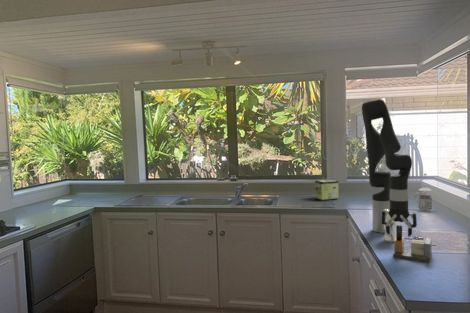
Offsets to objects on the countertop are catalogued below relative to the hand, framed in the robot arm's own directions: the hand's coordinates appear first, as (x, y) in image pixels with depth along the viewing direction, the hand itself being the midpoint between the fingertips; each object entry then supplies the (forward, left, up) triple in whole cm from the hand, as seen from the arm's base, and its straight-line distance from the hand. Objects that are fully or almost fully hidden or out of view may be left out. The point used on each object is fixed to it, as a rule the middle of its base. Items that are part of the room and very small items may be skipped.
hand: (398, 235), depth 162 cm
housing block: (0, +8, -7) cm, 10 cm away
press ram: (0, 0, -7) cm, 7 cm away
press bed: (0, +6, -9) cm, 10 cm away
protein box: (-114, -68, -9) cm, 133 cm away
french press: (-101, +3, -9) cm, 101 cm away
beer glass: (-20, -6, -9) cm, 23 cm away
